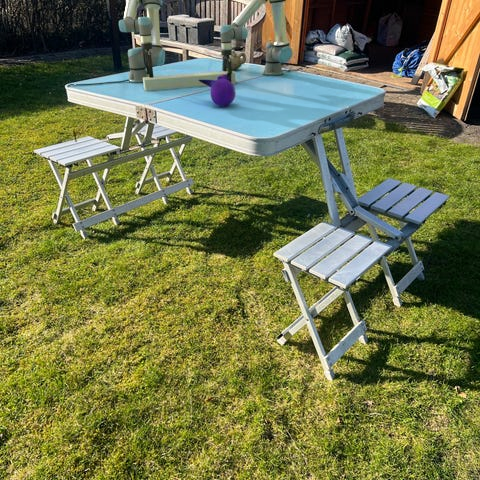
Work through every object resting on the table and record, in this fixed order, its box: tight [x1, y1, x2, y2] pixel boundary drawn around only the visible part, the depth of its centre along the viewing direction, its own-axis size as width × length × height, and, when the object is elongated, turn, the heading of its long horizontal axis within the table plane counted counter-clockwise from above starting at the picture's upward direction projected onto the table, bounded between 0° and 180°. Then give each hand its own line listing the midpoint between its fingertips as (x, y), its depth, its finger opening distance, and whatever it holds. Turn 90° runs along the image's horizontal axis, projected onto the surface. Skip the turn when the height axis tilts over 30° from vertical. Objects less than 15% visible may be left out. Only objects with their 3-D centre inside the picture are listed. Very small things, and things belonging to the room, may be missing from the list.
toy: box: [199, 75, 237, 107], centre depth 269 cm, size 16×18×27 cm
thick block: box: [143, 70, 237, 92], centre depth 319 cm, size 65×10×7 cm, turn 107°
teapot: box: [229, 50, 247, 71], centre depth 368 cm, size 21×12×15 cm, turn 120°
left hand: (150, 76), depth 310 cm, fingers open, 13 cm apart
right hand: (227, 82), depth 328 cm, fingers closed on thick block, 10 cm apart
